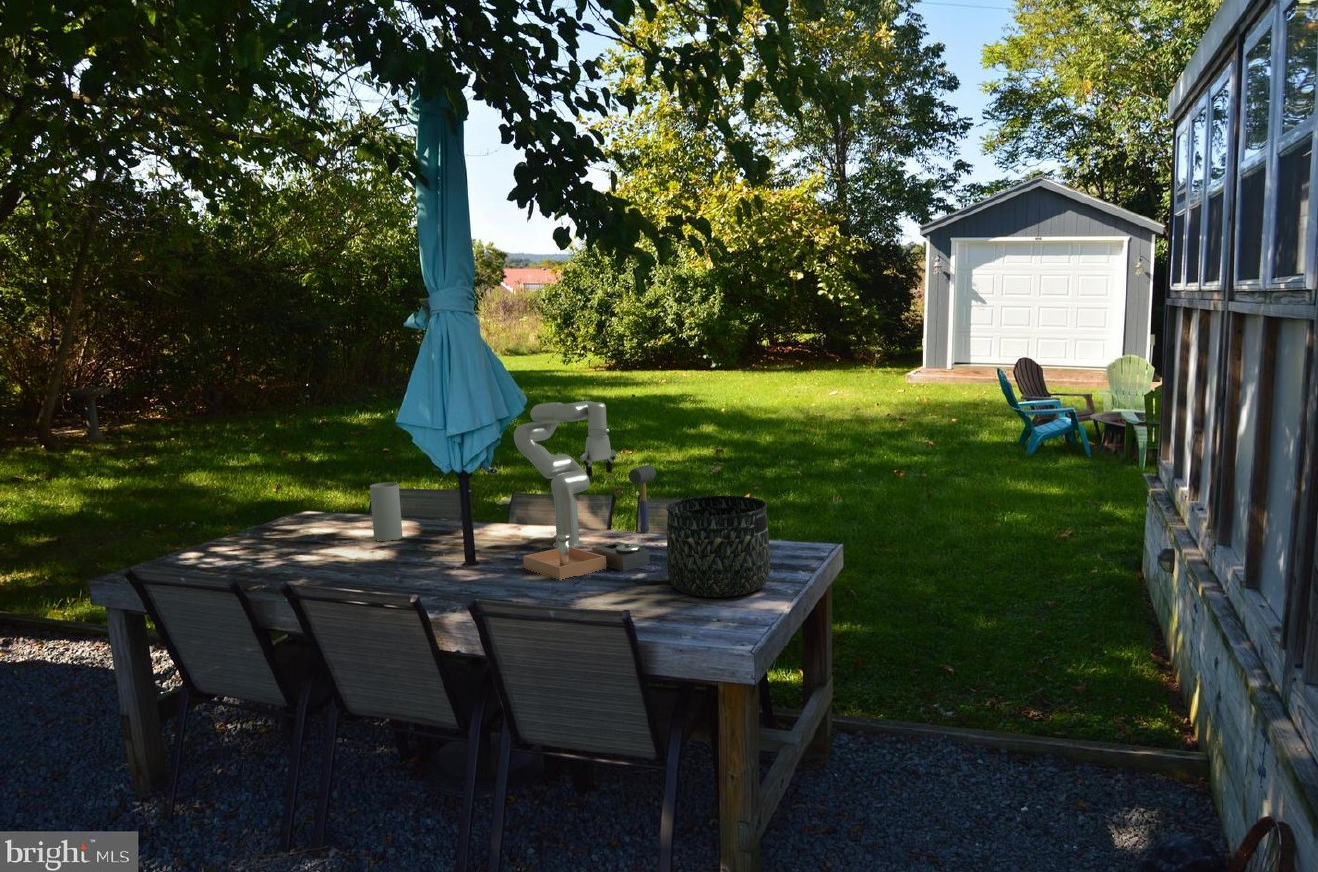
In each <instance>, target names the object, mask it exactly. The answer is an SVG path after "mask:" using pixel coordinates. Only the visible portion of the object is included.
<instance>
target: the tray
mask: <svg viewBox="0 0 1318 872" xmlns="http://www.w3.org/2000/svg"><path fill="white" fill-rule="evenodd" d="M569 554H570V565H566V566H561V567H560V559H559V548H553V549H548V550H544V551H540V552H536V553H530V554H526V555H523V557H522V559H523V569H524V568H526V569H525V570H527V569H528V570H527V571H530V570H531V571H530V572H533V571H534V572H533V573H536V572H537V573H536V574H539V573H540V574H539V575H543V576H545V577H548V576H550V577H549V578H551V577H553V578H552V579H554V578H556V579H555V580H557V579H559V580H558V581H563V580H562V579H564V580H566V579H565V578H569V577H573V576H577V577H579V576H584V574H585V575H588V573H589V574H592V572H593V573H596V572H595V571H597V572H600V571H599V570H601V571H603V570H602V569H605V570H607V566H606V557H605V556H602V555H598V554H595V553H592V552H590V551H589V550H588V551H587V550H584V549H580V548H574V547H570V546H569ZM573 578H574V577H573ZM569 579H570V578H569Z"/></svg>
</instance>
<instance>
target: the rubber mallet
mask: <svg viewBox="0 0 1318 872" xmlns="http://www.w3.org/2000/svg"><path fill="white" fill-rule="evenodd" d="M656 476H657V471H656V468H655V467H654V466H653V465H651V464H647V465H641V466H638V467H635V468H632V469H631V470H630V471H629V473H628V479H629V481H630V482H631V483H632V484H634V485H639V484H640V485H639V486H640V487H639V489H640V490H639V491H640V501H639V514H640V527H639V528H640V531H641V533H645V534H647V533H649V531H650V526H649V504H648V501H647V485H646V483H649V481H652V480H654V479H655V478H656Z"/></svg>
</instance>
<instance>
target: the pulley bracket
mask: <svg viewBox="0 0 1318 872" xmlns="http://www.w3.org/2000/svg"><path fill="white" fill-rule="evenodd" d="M591 550H592V552H591V553H595V554H598V555H602V556H605V557H606V565H608V566H610V567H609V568H611V567H613V568H612V569H614V568H616V569H615V570H618V571H621V572H626V571H630V570H633V569H637V567H638V568H642V567H645V565H646V566H649V565H648V564H650V549H647V548H644V547H641V546H640V545H639V544H635V543H633V544H631V543H624V542H620V541H615V542H611V543H610V542H609V543H606V544H603V545H598V546H592V547H591ZM641 566H642V567H641Z"/></svg>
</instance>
